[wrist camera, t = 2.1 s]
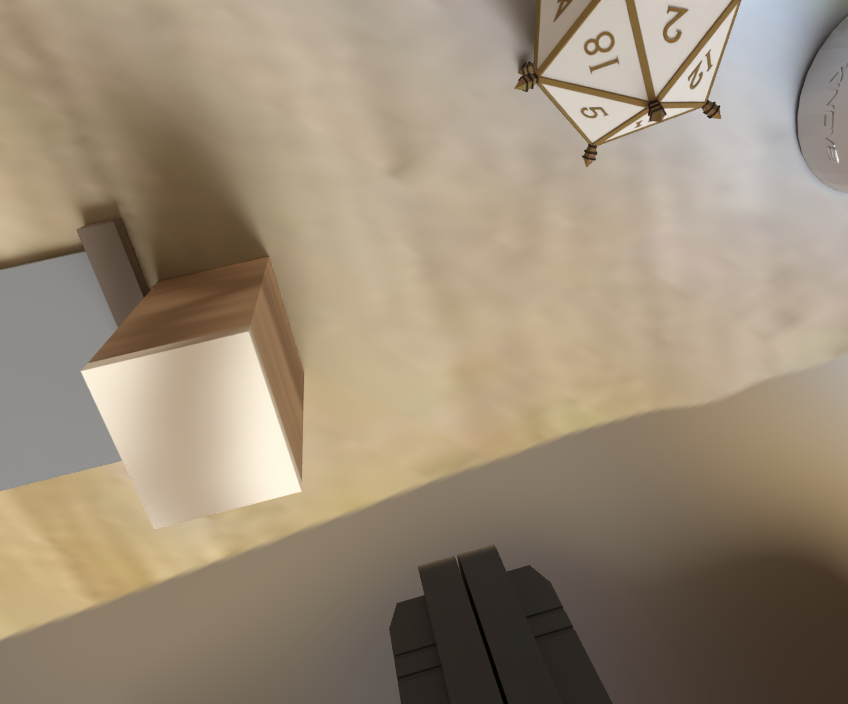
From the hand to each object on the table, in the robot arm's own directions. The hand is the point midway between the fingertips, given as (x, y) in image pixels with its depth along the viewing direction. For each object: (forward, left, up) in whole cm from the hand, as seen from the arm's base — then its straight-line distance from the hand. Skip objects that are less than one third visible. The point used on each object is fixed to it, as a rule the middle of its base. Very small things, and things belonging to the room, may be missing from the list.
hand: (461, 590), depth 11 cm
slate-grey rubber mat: (+16, 0, -19) cm, 25 cm away
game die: (-12, -9, -19) cm, 24 cm away
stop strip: (+10, 0, -19) cm, 22 cm away
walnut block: (+6, 0, -19) cm, 20 cm away
